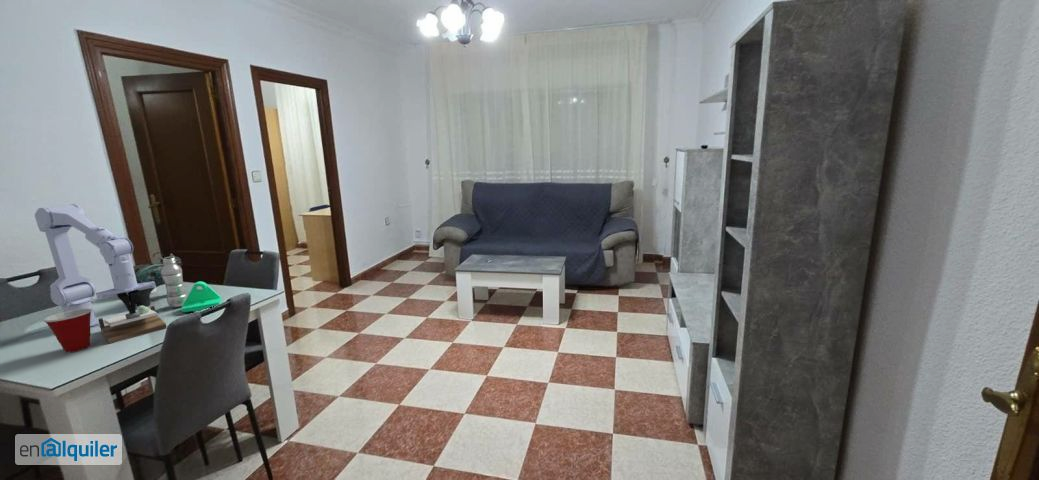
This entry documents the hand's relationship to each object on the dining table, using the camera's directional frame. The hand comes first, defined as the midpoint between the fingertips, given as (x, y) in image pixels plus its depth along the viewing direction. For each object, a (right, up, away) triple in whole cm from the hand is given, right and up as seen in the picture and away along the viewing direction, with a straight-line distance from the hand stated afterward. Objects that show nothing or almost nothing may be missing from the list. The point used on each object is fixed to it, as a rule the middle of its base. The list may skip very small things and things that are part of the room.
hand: (132, 313), depth 143 cm
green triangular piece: (+6, -3, +24) cm, 25 cm away
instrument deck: (-4, -3, +4) cm, 7 cm away
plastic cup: (-11, -10, -8) cm, 17 cm away
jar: (-33, +1, +42) cm, 54 cm away
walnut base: (-4, -7, +5) cm, 9 cm away
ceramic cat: (-18, 0, +34) cm, 39 cm away
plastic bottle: (-5, -2, +26) cm, 27 cm away
